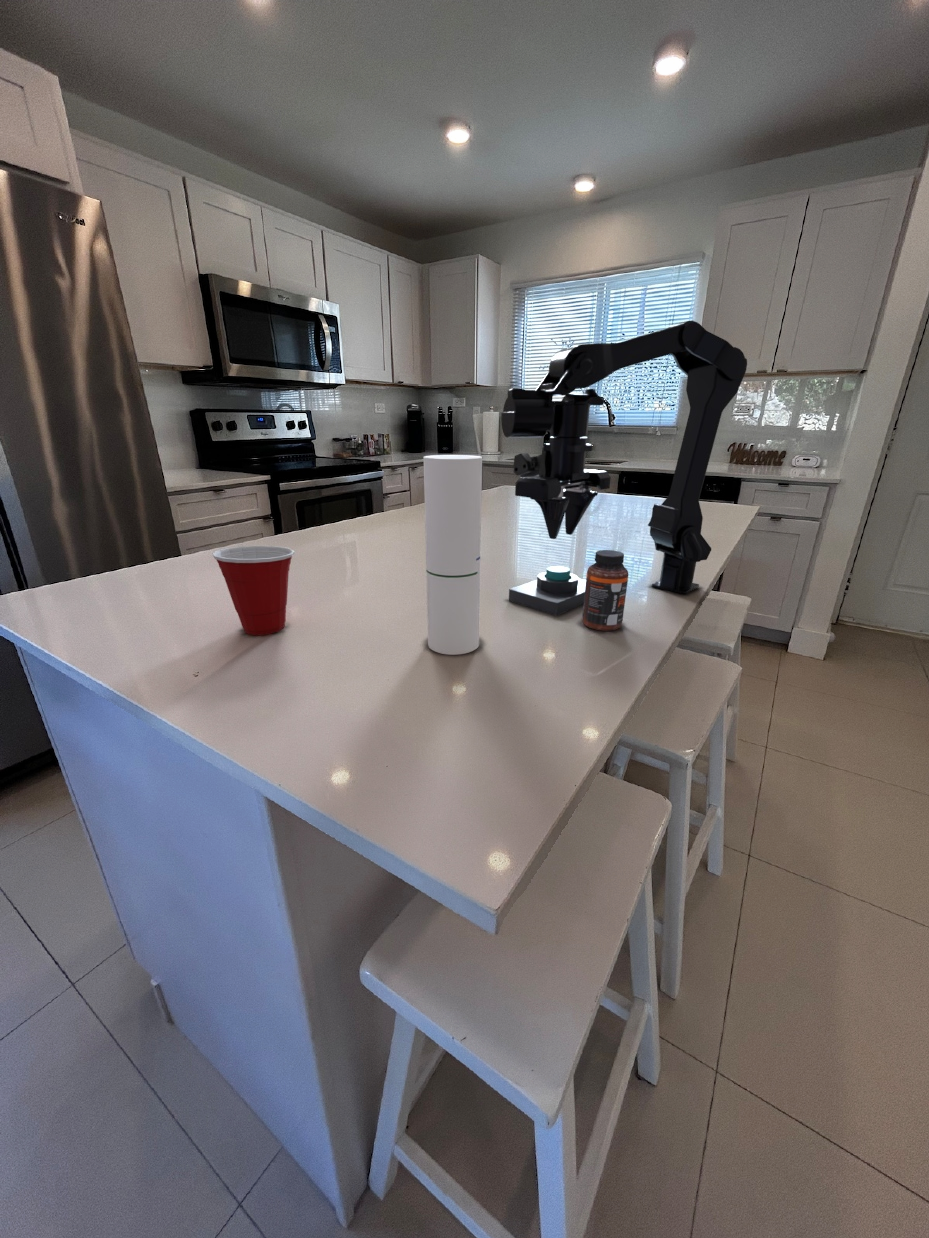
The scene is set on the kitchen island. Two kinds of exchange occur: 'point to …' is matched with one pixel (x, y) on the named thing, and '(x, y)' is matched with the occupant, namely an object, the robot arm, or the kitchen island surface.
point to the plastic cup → (257, 585)
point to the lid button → (558, 573)
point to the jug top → (550, 594)
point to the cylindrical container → (453, 551)
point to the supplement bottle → (605, 591)
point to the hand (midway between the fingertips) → (561, 536)
